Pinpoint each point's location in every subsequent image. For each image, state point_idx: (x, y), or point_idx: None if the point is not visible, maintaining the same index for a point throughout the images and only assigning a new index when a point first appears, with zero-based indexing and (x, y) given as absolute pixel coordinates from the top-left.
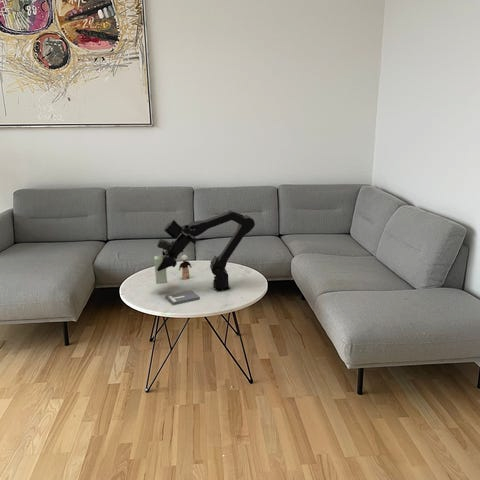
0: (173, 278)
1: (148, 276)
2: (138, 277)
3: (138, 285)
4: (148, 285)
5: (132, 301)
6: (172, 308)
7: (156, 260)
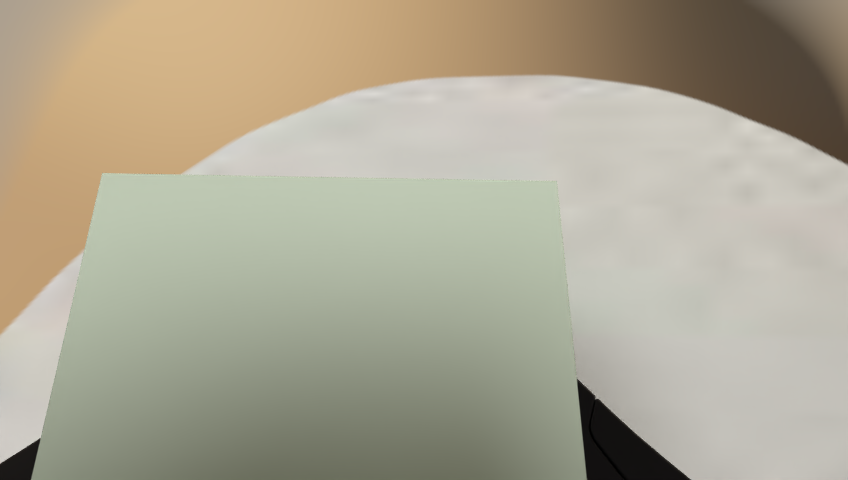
0: (746, 467)
1: (792, 238)
2: (767, 163)
3: (595, 165)
4: (587, 238)
5: (286, 130)
6: (19, 438)
7: (124, 265)
